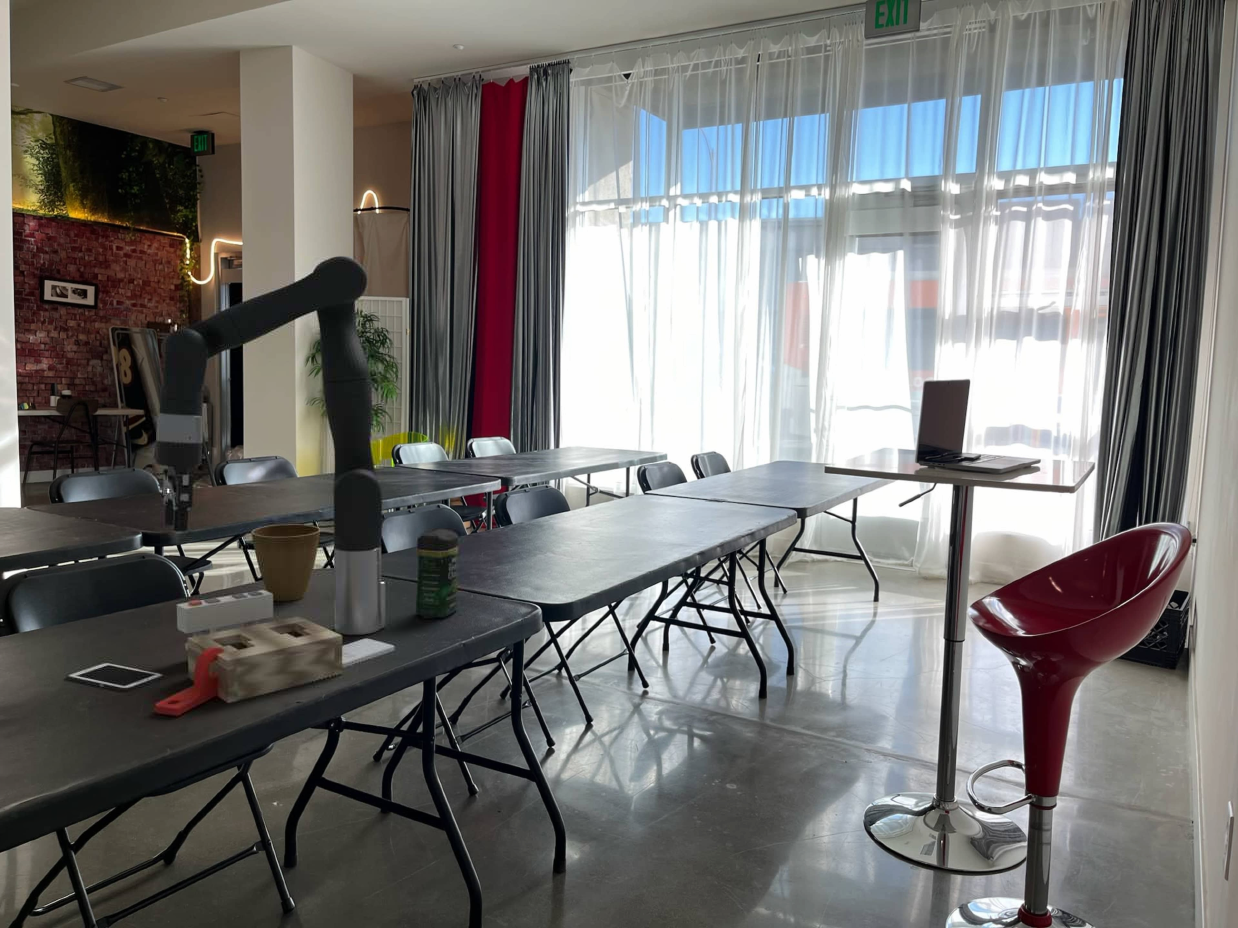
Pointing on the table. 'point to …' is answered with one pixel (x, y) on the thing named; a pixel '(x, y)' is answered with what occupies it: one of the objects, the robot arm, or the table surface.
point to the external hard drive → (363, 651)
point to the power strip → (224, 612)
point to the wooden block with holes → (269, 657)
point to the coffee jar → (437, 574)
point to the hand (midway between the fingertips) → (175, 527)
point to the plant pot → (286, 558)
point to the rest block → (226, 628)
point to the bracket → (194, 687)
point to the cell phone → (115, 677)
